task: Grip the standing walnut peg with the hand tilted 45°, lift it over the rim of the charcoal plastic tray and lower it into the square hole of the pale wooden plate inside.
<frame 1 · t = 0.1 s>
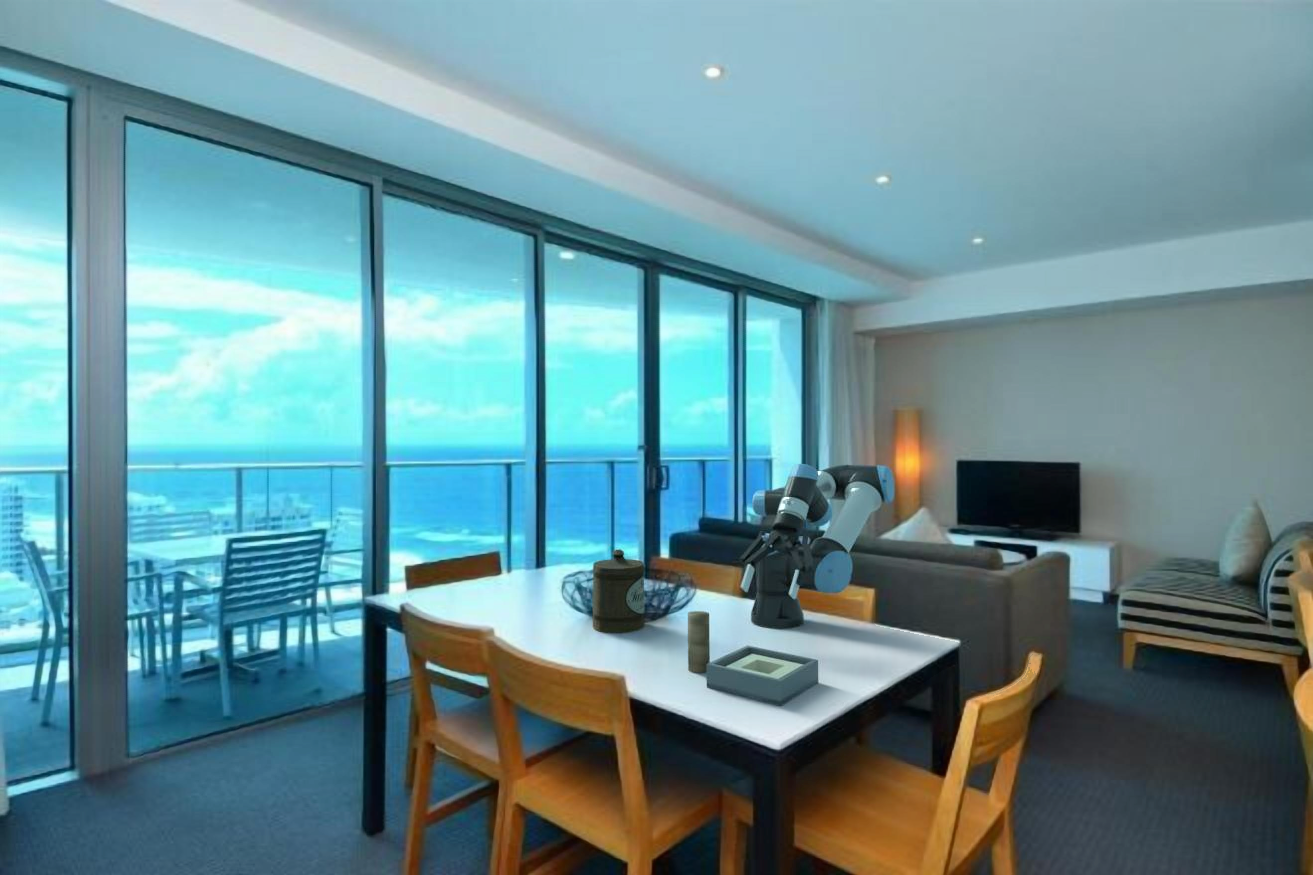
hand: (767, 593, 177), 15 cm above the table, fingers open, 13 cm apart
wooden container: (618, 626, 205), on the table
peg: (699, 669, 166), on the table
tray: (762, 684, 156), on the table
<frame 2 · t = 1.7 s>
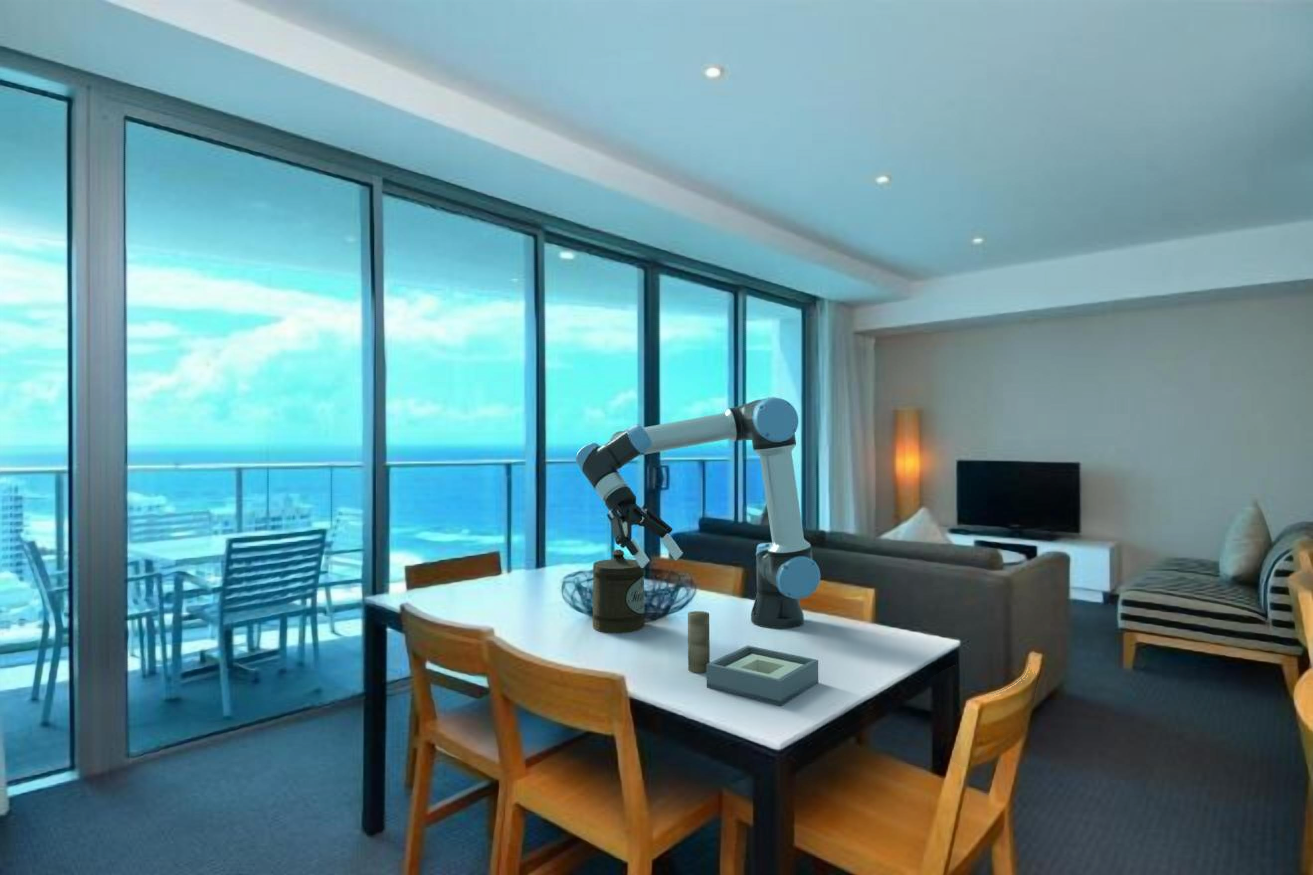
hand: (663, 560, 173), 24 cm above the table, fingers open, 13 cm apart
nothing on the table moved.
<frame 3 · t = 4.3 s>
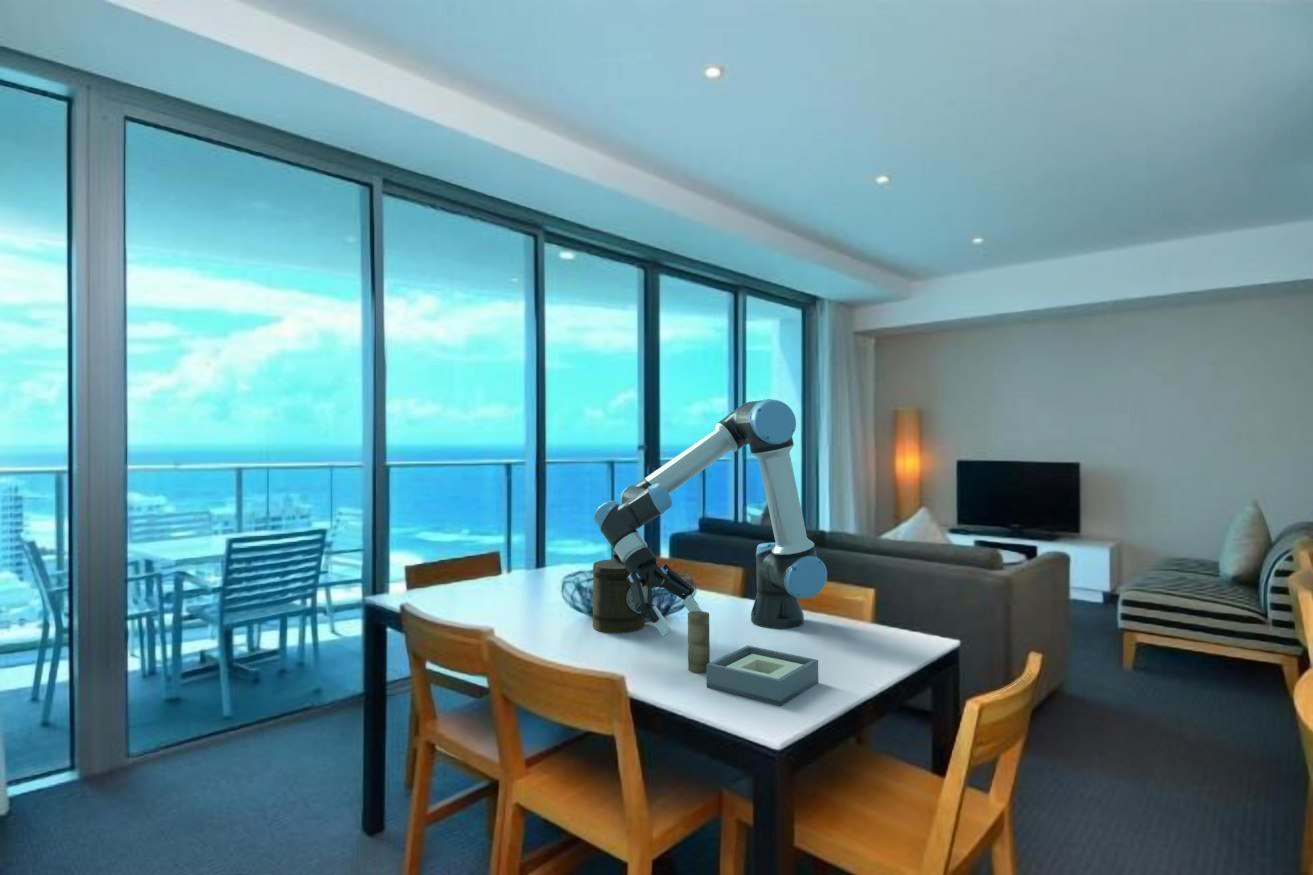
hand: (685, 626, 168), 10 cm above the table, fingers open, 13 cm apart
nothing on the table moved.
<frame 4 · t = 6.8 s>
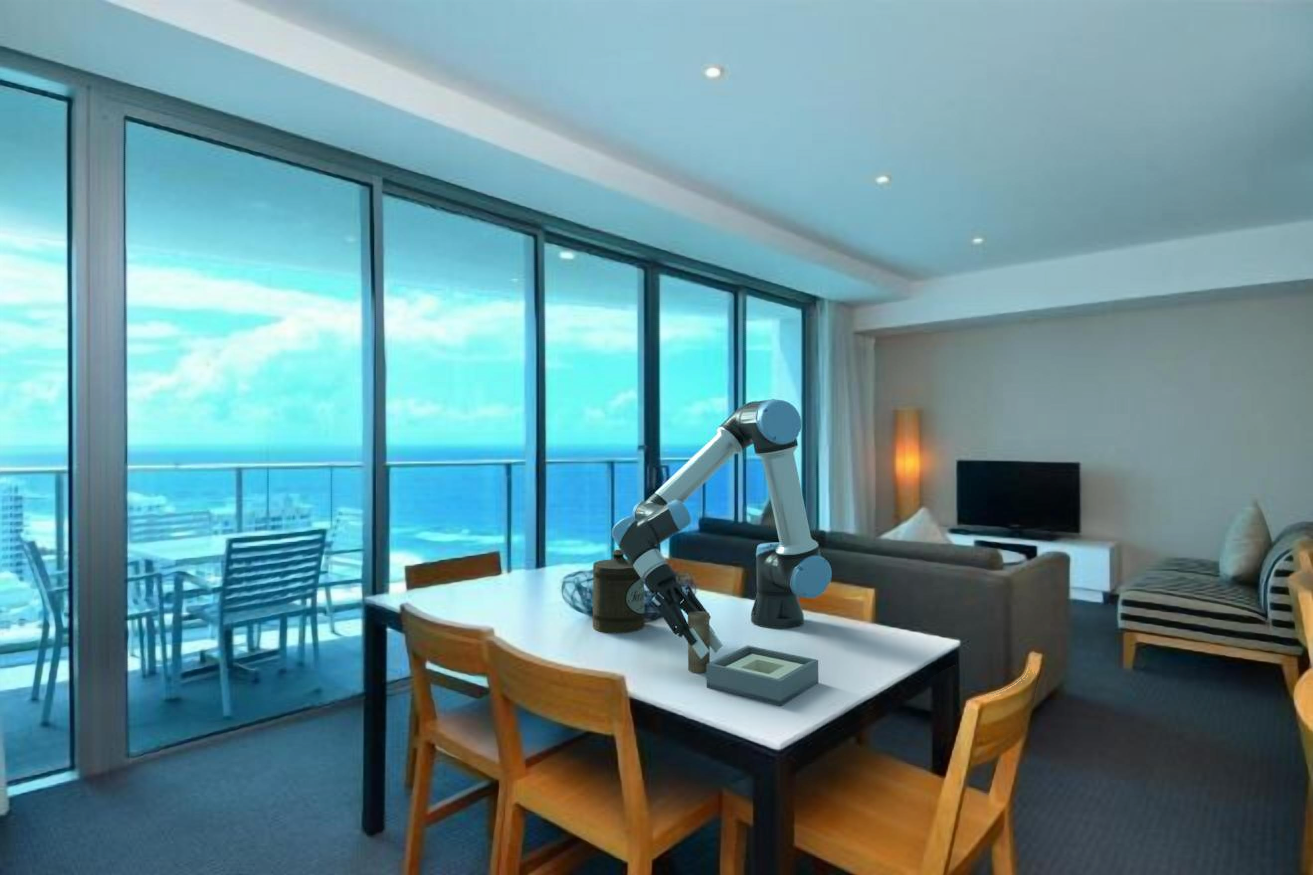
hand: (712, 651, 164), 5 cm above the table, fingers closed on peg, 5 cm apart
peg: (698, 669, 166), on the table, touching gripper
everything else where it was.
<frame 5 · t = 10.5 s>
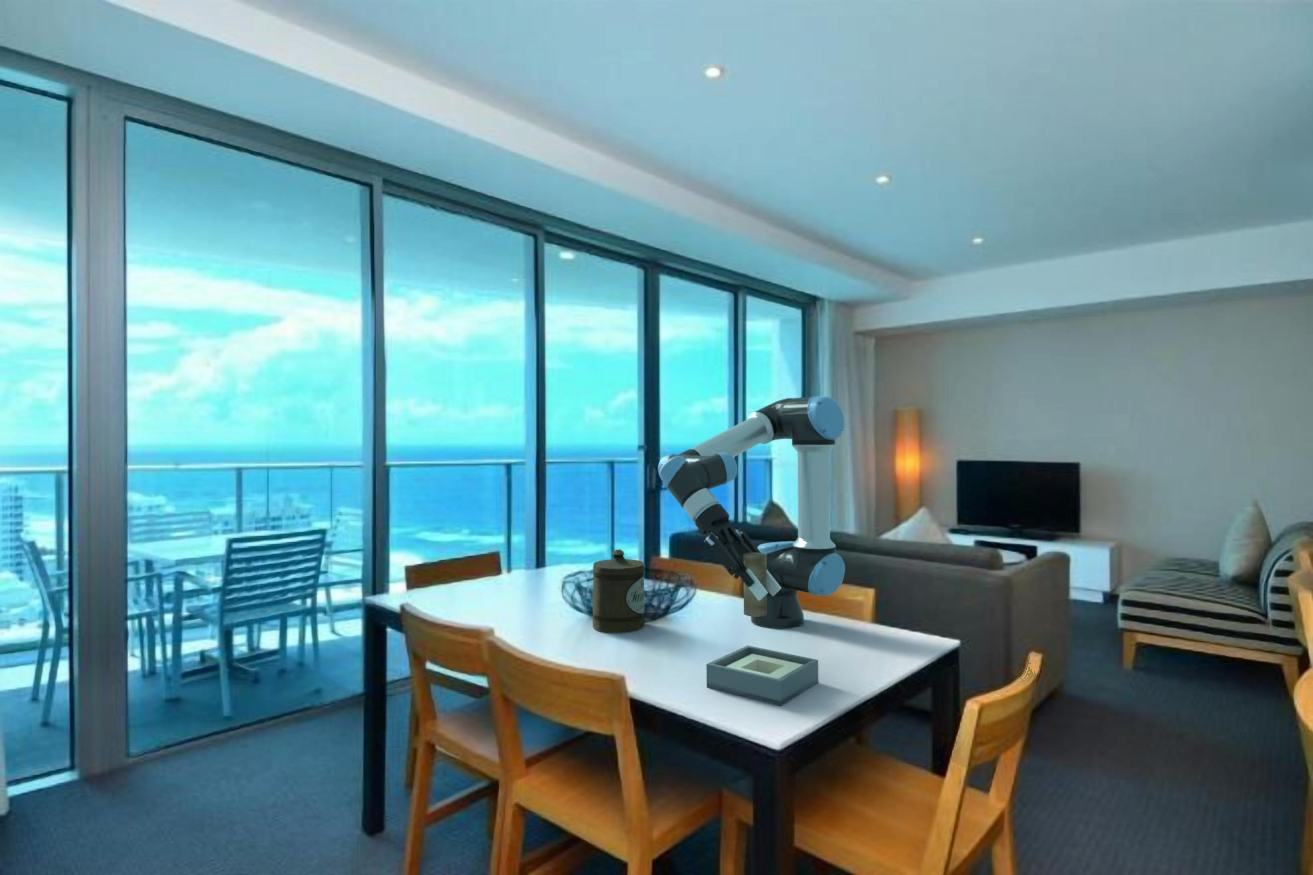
hand: (770, 594, 154), 20 cm above the table, fingers closed on peg, 5 cm apart
peg: (755, 613, 156), point 15 cm above the table, touching gripper
everything else where it was.
when the fingers open (7 cm above the table, at t = 14.5 s): peg drops 1 cm, resting on tray.
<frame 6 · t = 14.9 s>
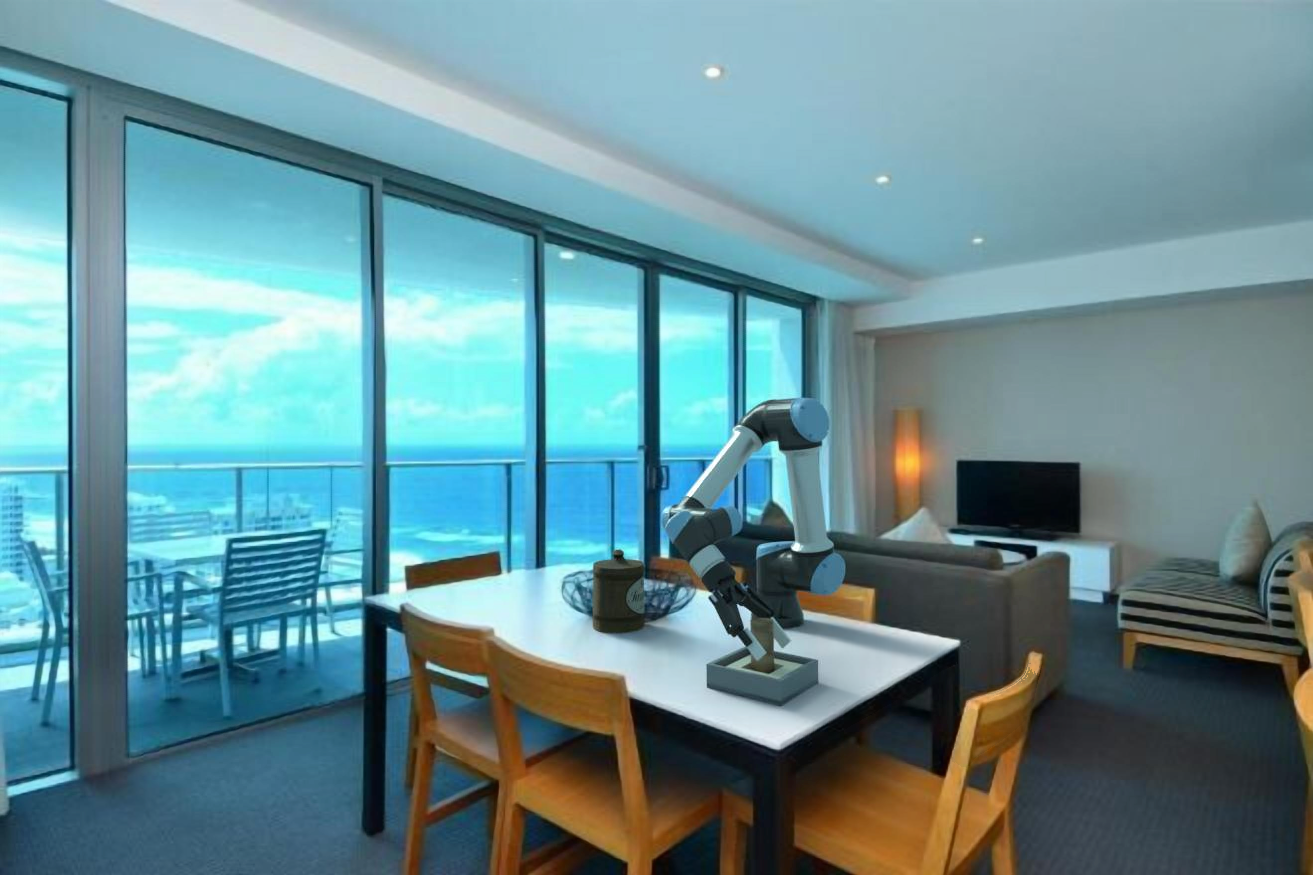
hand: (774, 650, 154), 8 cm above the table, fingers open, 10 cm apart
peg: (762, 680, 156), point 1 cm above the table, touching tray
everything else where it was.
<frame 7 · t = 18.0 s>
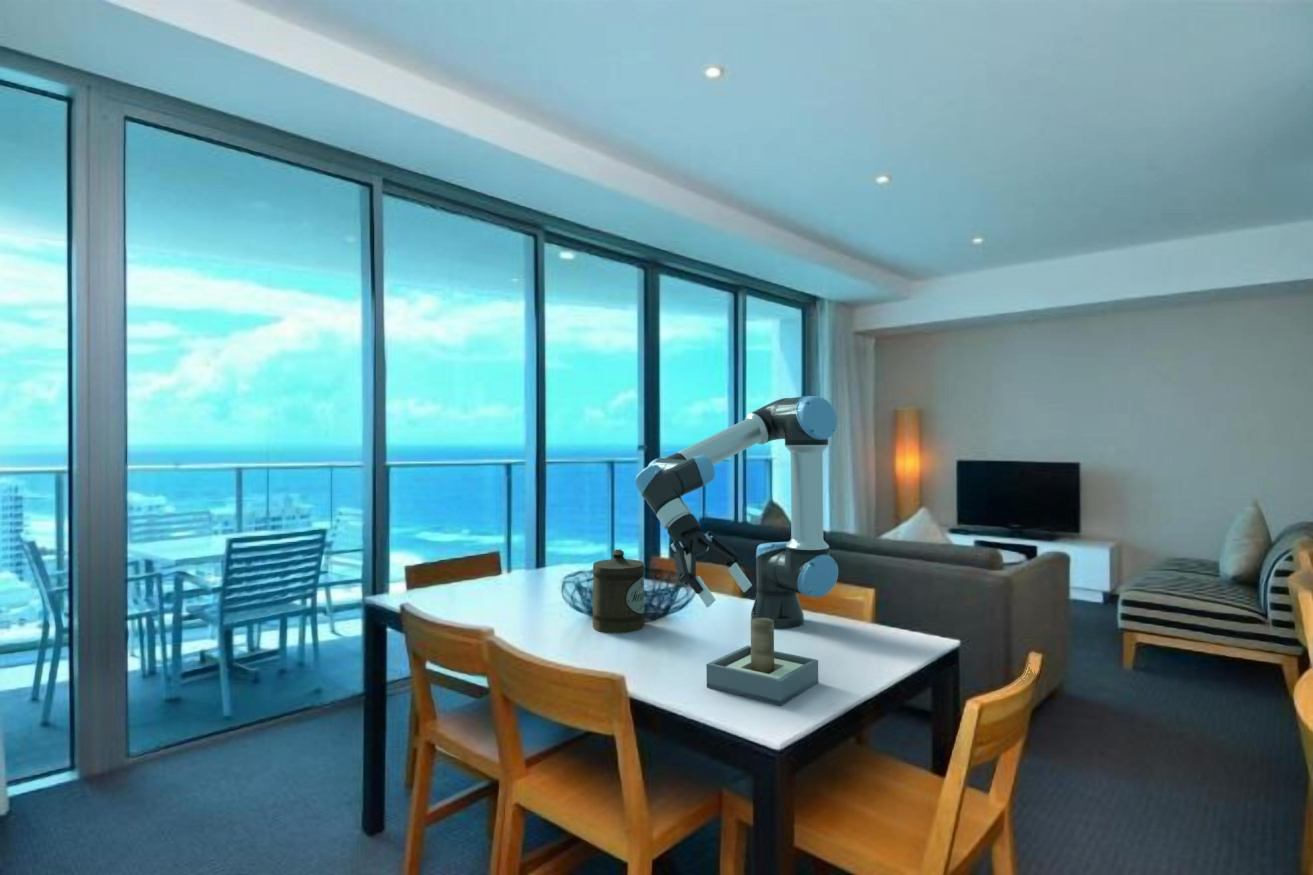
hand: (730, 596, 162), 18 cm above the table, fingers open, 13 cm apart
nothing on the table moved.
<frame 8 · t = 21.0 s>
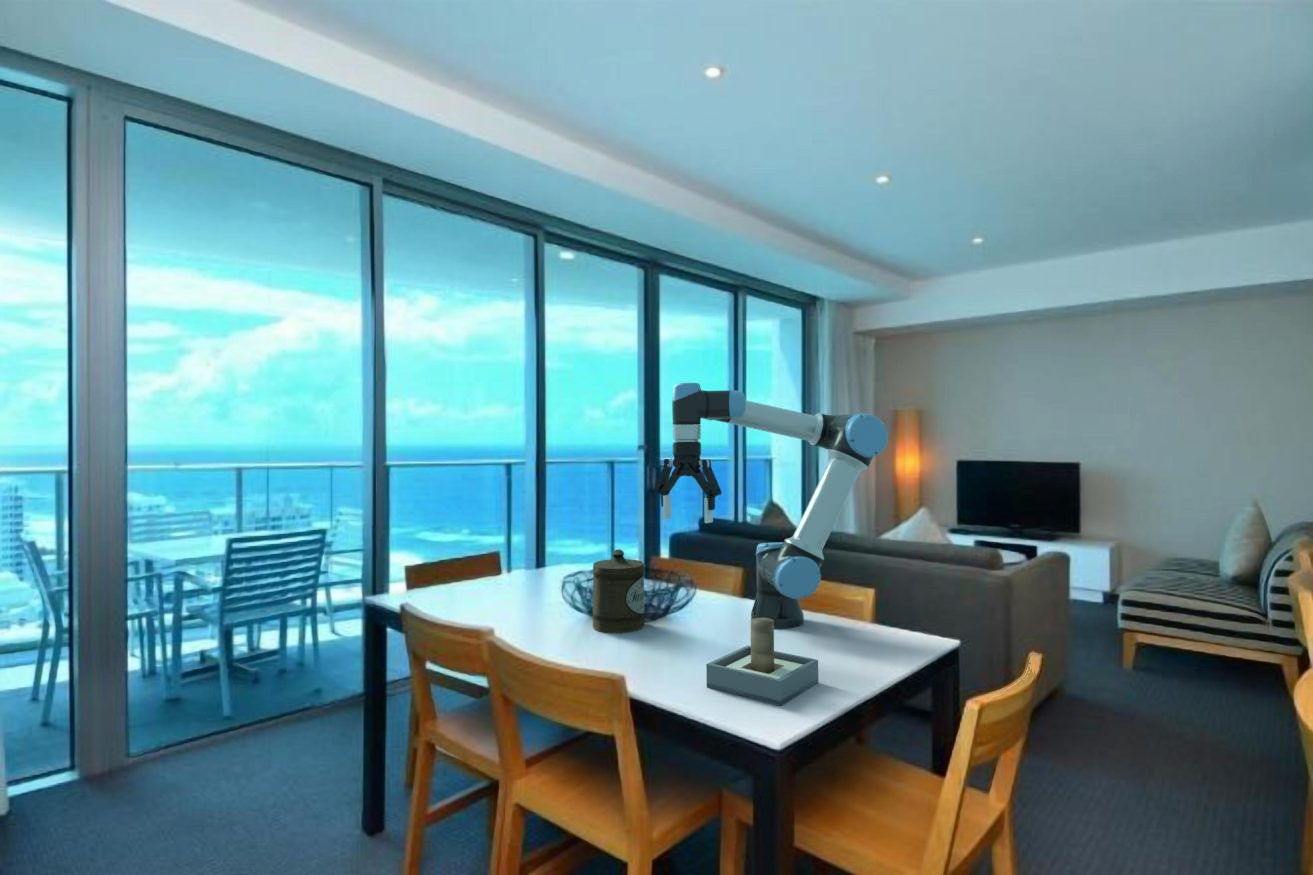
hand: (687, 520, 190), 32 cm above the table, fingers open, 13 cm apart
nothing on the table moved.
at the end: peg 0.1 cm off-centre on the tray, point 1.0 cm above the tray's base; peg tilted 0°; the gripper is holding nothing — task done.
